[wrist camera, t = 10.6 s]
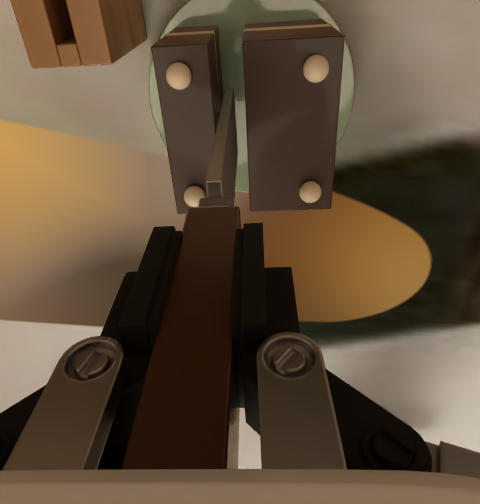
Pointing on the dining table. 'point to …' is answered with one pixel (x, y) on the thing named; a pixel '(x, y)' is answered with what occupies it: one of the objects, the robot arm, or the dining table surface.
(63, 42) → the knife holder
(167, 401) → the cake knife
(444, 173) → the dining table surface
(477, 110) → the dining table surface
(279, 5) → the cake plate
